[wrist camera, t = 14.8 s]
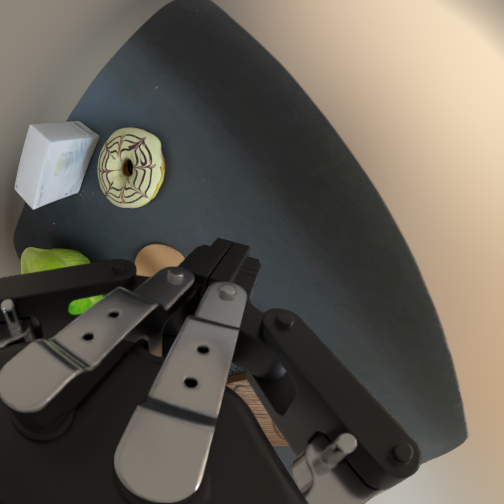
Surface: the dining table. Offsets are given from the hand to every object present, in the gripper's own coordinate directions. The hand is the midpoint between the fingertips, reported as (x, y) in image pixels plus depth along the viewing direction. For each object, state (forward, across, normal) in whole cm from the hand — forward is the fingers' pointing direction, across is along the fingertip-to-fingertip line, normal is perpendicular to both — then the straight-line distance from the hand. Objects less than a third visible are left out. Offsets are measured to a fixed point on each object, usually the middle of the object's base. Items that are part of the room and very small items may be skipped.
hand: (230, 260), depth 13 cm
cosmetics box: (+21, +31, +1) cm, 38 cm away
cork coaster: (+21, +13, +16) cm, 30 cm away
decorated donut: (+21, +19, +1) cm, 28 cm away
